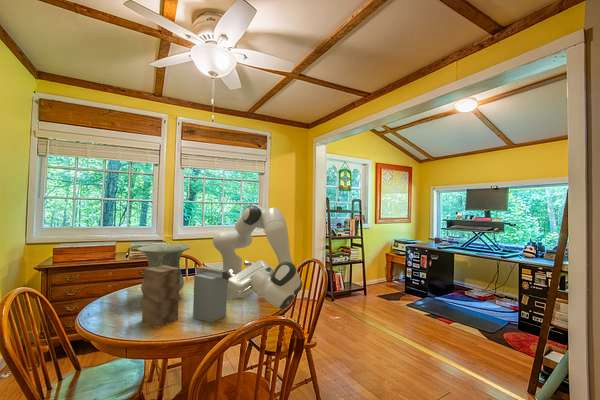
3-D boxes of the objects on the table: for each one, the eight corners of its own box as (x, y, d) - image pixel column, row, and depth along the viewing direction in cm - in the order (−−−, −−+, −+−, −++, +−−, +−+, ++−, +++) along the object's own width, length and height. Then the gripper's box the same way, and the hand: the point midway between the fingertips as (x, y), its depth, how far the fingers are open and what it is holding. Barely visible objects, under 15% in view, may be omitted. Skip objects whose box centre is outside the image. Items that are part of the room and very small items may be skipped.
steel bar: (201, 271, 139) (202, 265, 140) (233, 278, 128) (233, 272, 128) (196, 272, 137) (197, 266, 137) (228, 279, 125) (228, 273, 126)
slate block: (209, 310, 140) (210, 271, 141) (226, 315, 134) (227, 274, 135) (192, 316, 132) (194, 275, 132) (210, 322, 126) (211, 279, 126)
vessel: (148, 313, 135) (151, 252, 136) (126, 301, 151) (129, 246, 152) (198, 299, 156) (199, 247, 157) (174, 290, 172) (176, 242, 173)
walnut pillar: (162, 314, 134) (164, 265, 135) (177, 319, 128) (179, 268, 129) (141, 321, 125) (144, 268, 126) (157, 327, 119) (159, 272, 120)
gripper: (240, 300, 110) (218, 283, 116) (274, 276, 125) (252, 262, 132) (241, 288, 107) (218, 271, 114) (275, 265, 123) (253, 251, 129)
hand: (237, 266), depth 123 cm, fingers open, 8 cm apart
